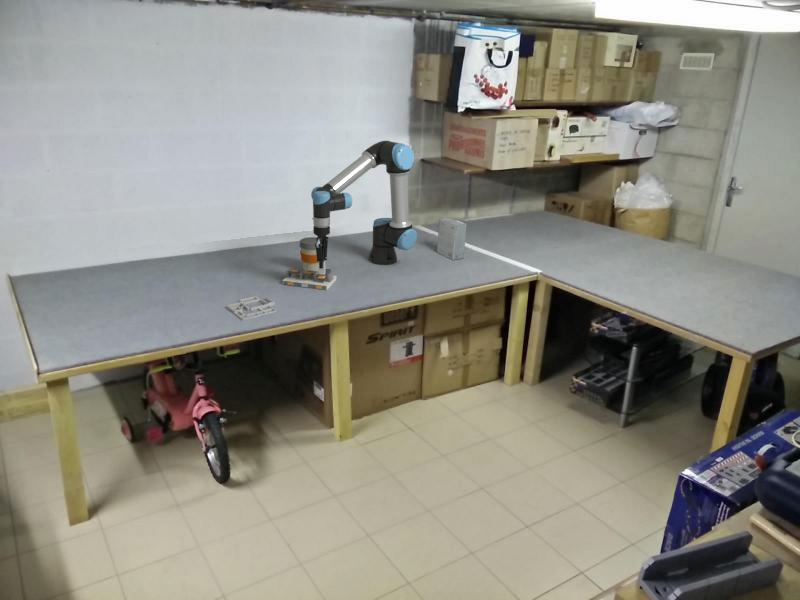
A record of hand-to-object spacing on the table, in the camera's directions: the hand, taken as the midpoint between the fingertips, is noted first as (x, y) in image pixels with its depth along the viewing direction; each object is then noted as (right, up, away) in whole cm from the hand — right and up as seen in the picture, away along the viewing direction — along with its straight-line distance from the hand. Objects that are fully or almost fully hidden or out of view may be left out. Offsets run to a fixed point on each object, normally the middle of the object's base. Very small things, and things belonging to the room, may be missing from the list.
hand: (322, 273), depth 294 cm
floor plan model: (-28, -15, -23) cm, 40 cm away
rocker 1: (-13, +1, +6) cm, 15 cm away
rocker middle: (-6, +1, +5) cm, 8 cm away
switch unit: (-7, -4, +7) cm, 10 cm away
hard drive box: (+65, +12, +56) cm, 87 cm away
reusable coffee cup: (-8, +3, +24) cm, 26 cm away
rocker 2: (0, 0, +4) cm, 4 cm away
